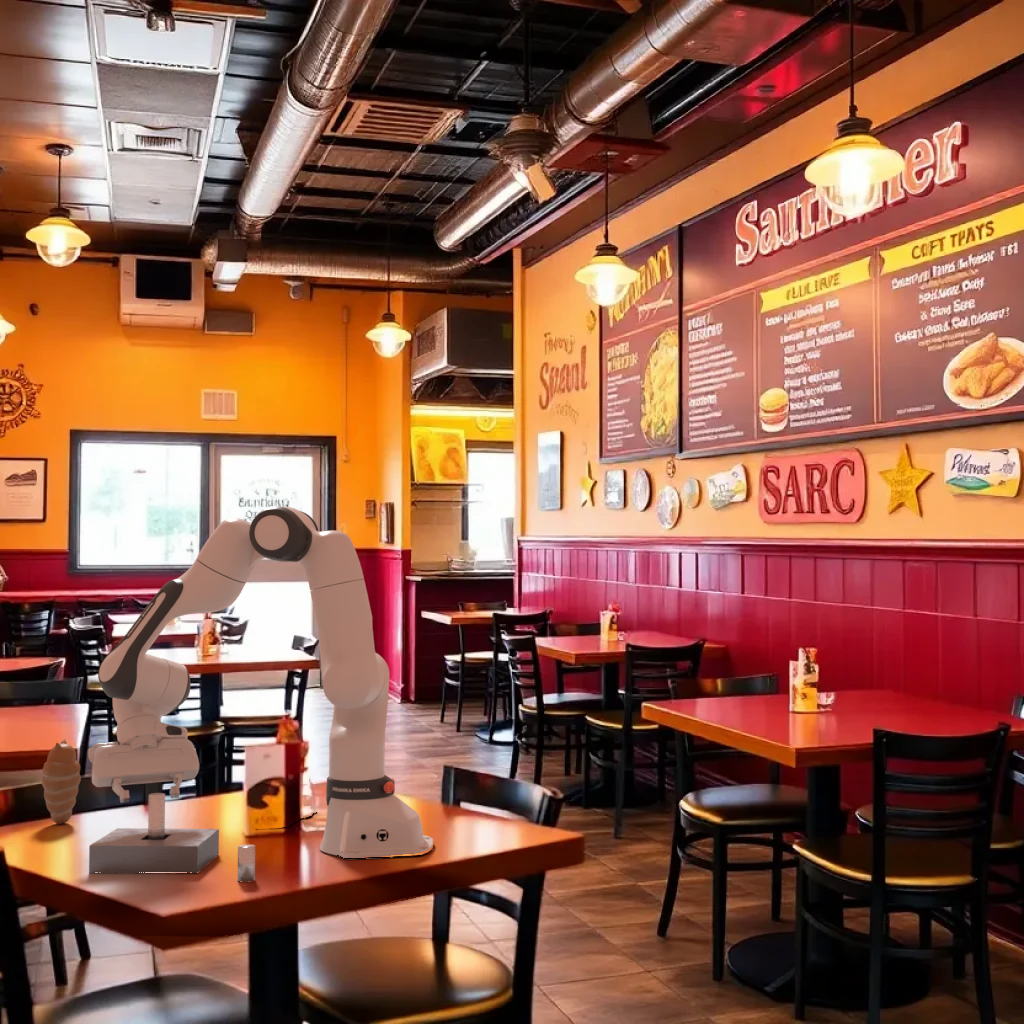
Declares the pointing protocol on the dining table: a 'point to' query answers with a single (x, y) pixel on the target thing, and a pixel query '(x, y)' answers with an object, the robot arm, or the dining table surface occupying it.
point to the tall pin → (156, 816)
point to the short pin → (246, 863)
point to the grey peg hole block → (153, 851)
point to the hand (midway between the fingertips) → (150, 798)
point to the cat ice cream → (61, 781)
